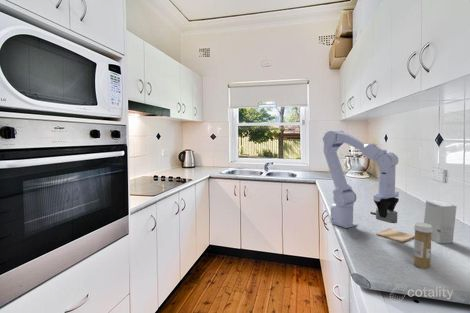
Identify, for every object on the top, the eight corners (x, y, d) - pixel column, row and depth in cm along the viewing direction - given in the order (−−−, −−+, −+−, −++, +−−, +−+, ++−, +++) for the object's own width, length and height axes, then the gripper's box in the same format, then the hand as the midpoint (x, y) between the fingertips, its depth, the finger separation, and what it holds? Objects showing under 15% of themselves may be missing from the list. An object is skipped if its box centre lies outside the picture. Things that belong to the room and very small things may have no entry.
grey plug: (368, 217, 109) (368, 207, 109) (373, 215, 111) (373, 206, 111) (393, 223, 100) (394, 213, 100) (399, 222, 103) (399, 212, 102)
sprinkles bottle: (433, 269, 80) (435, 227, 78) (417, 268, 80) (419, 226, 79) (425, 262, 84) (427, 222, 83) (410, 261, 85) (411, 221, 84)
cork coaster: (376, 234, 108) (376, 233, 108) (389, 229, 113) (389, 228, 113) (402, 243, 99) (402, 241, 99) (414, 237, 104) (414, 235, 104)
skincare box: (422, 235, 106) (423, 200, 105) (435, 235, 106) (437, 199, 105) (440, 244, 97) (442, 205, 96) (455, 243, 98) (457, 205, 97)
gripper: (386, 186, 97) (385, 222, 98) (406, 182, 104) (405, 215, 105) (368, 183, 103) (368, 217, 104) (389, 180, 110) (388, 211, 111)
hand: (385, 216), depth 105 cm, fingers closed on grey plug, 4 cm apart
